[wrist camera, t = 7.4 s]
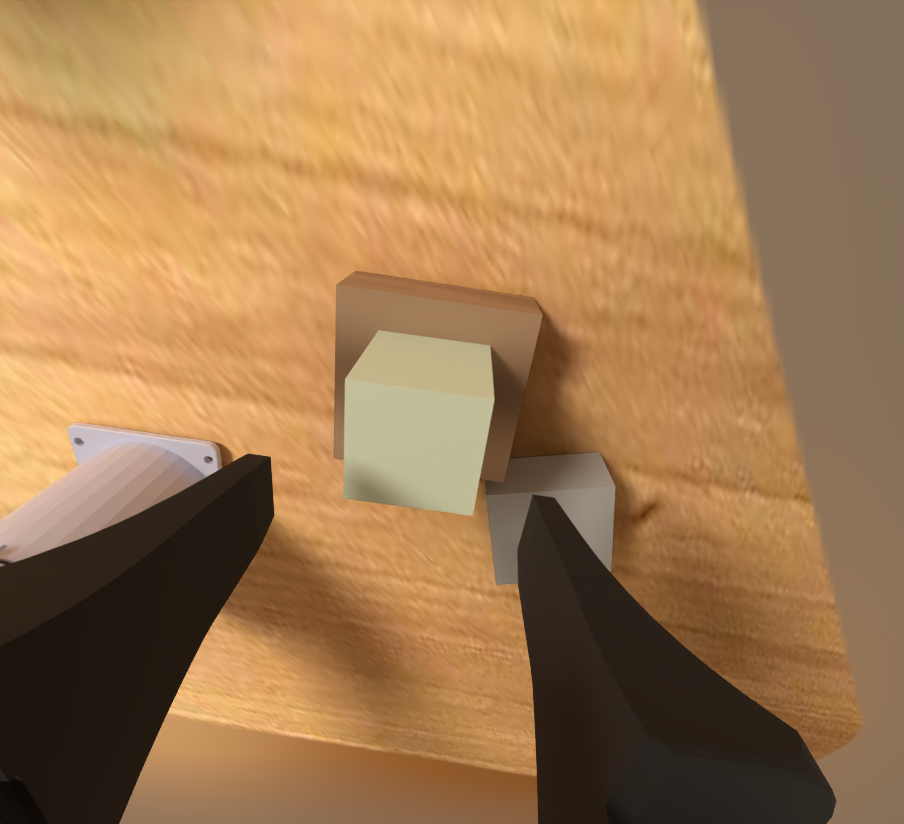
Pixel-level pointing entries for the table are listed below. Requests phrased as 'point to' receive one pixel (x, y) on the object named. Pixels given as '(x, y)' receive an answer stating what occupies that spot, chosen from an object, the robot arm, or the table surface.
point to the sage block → (417, 422)
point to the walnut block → (445, 317)
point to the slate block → (573, 486)
